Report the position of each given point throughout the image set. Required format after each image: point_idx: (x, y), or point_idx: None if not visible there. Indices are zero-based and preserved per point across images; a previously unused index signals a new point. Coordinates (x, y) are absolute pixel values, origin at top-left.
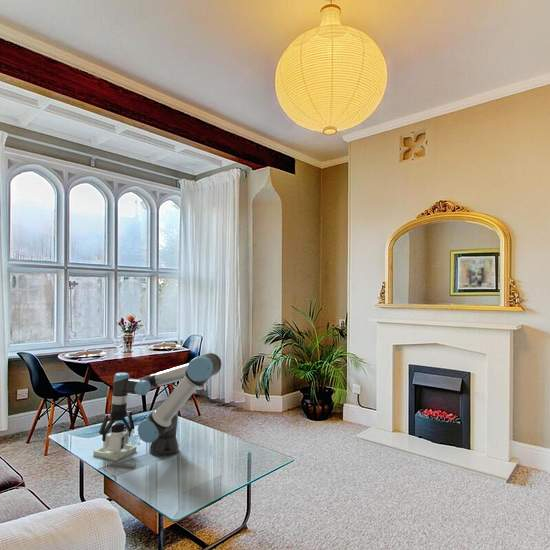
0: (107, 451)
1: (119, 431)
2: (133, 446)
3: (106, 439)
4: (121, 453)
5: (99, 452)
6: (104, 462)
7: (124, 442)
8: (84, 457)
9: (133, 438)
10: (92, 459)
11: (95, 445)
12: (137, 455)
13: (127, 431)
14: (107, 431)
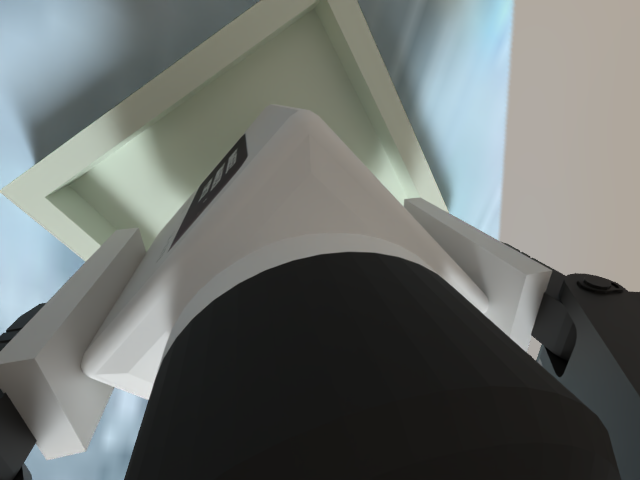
0: None
1: (334, 266)
2: (49, 208)
3: (483, 238)
4: (254, 36)
5: (441, 198)
6: (428, 36)
7: (172, 225)
8: (497, 228)
9: (50, 460)
10: (474, 165)
11: None
12: (25, 29)
13: (43, 371)
14: (613, 328)
